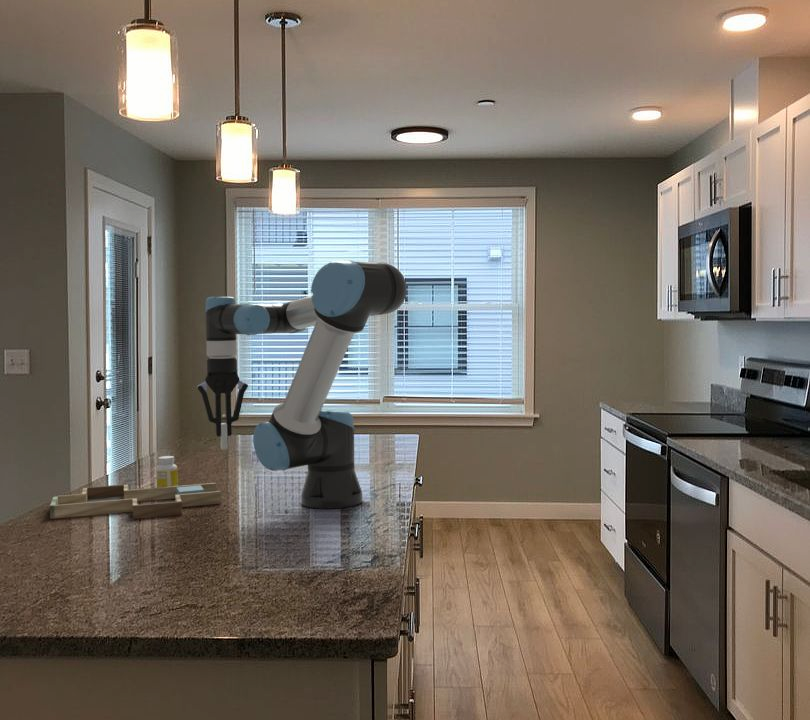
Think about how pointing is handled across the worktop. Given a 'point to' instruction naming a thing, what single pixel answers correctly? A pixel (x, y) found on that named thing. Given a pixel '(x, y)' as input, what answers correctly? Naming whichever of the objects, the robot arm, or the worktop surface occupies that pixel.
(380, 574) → the worktop surface
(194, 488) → the block
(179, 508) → the wooden frame tray
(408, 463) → the worktop surface
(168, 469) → the supplement bottle
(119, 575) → the worktop surface
